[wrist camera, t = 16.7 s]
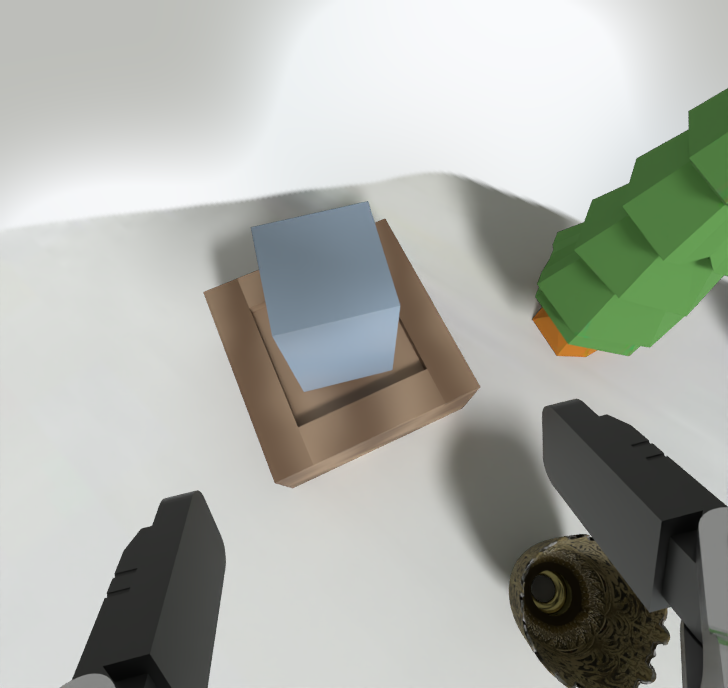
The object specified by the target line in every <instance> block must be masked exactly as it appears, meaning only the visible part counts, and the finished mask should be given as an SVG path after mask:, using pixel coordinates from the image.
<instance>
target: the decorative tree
mask: <svg viewBox="0 0 728 688" xmlns="http://www.w3.org/2000/svg"><path fill="white" fill-rule="evenodd" d="M724 275H725V276H728V89H726V90H724V91H722V92H721V93H719V94H717V95H715V96H714V97H712V98H710V99H709V100H707V101H705V102H704V103H702V104H700V105H699V106H697V107H695V108H693V109H692V110H690V111H689V130H687V131H685V132H683V133H681V134H680V135H678V136H676V137H674V138H672V139H671V140H669V141H667V142H665V143H663V144H662V145H660V146H658V147H656V148H654V149H653V150H651V151H649V152H648V153H646V154H644V155H642V156H640V157H638V158H637V159H636V162H635V165H634V169H633V172H632V175H631V179H630V182H629V183H628V184H626V185H624V186H622V187H620V188H618V189H615V190H613V191H611V192H609V193H607V194H604V195H602V196H600V197H598V198H596V199H593V200H592V202H591V205H590V208H589V210H588V213H587V216H586V219H585V221H584V222H583V223H581V224H578V225H575V226H573V227H570V228H567V229H565V230H562V231H560V232H557V235H556V238H555V240H554V243H553V252H552V254H551V257H550V259H549V261H548V263H547V264H546V266H545V268H544V269H543V271H542V273H541V276H540V278H539V281H538V283H537V285H538V286H539V288H538V291H537V293H536V296H535V297H536V298H537V300H538V301H539V303H540V304H541V306H542V308H541V309H540V310H539V312H538V313H537V314H536V315H535V316H534V318H533V319H532V320H533V321H534V323H535V324H536V325H537V327H538V328H539V330H540V331H541V333H542V334H543V336H544V337H545V339H546V340H547V342H548V343H549V345H550V346H551V348H552V349H553V351H554V352H555V354H556V355H557V356H576V357H587V356H588V355H590V354H592V353H593V352H595V351H597V350H600V351H605V352H610V353H615V354H621V355H626V356H630V355H631V354H632V353H633V352H634V351H635V350H636V349H638V348H639V347H640V346H644V347H651V346H652V345H653V344H654V343H655V342H656V341H658V340H659V339H660V338H661V337H662V336H663V335H664V334H665V333H667V332H668V331H669V330H670V329H671V328H672V327H673V326H674V325H675V324H677V323H678V322H679V321H680V320H681V319H682V318H683V317H684V316H687V315H688V314H689V313H690V312H691V311H692V310H693V308H694V307H696V306H697V305H698V303H699V302H700V301H701V300H702V299H703V298H704V297H705V295H706V294H707V293H708V292H709V291H710V290H711V289H712V288H713V287H714V286H715V285H716V284H717V282H718V281H719V280H720V279H721V278H722V277H723V276H724Z"/></svg>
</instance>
